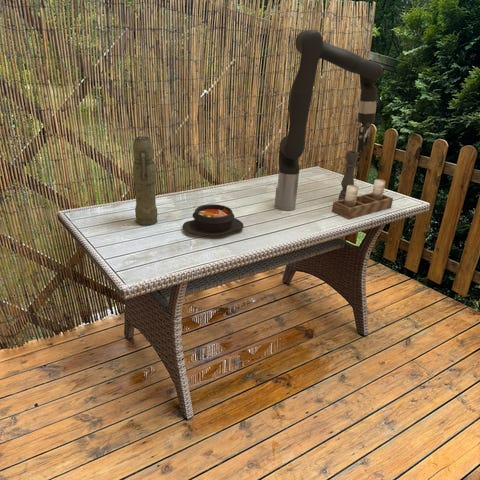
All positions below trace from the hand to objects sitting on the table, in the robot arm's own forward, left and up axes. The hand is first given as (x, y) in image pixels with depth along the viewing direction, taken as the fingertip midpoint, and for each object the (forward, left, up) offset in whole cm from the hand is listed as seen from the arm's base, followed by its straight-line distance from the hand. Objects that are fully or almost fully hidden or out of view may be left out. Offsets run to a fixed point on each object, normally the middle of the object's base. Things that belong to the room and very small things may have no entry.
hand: (362, 147), depth 195 cm
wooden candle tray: (+5, -5, -28) cm, 29 cm away
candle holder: (-4, +2, -28) cm, 29 cm away
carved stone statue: (-75, -65, -28) cm, 104 cm away
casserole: (-47, -59, -28) cm, 81 cm away
